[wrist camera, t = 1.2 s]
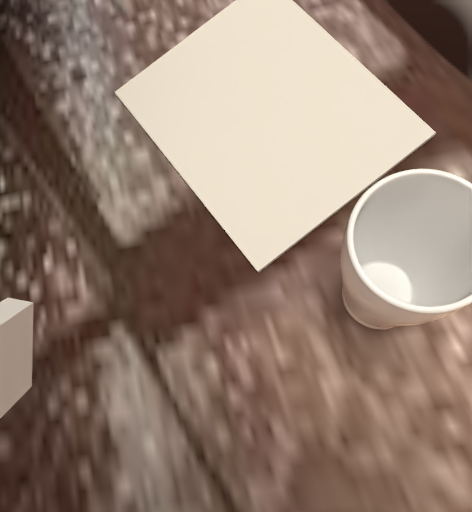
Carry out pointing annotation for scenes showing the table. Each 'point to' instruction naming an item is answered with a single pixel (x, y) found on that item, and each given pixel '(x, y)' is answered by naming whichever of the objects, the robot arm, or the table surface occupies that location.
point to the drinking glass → (409, 250)
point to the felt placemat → (271, 123)
